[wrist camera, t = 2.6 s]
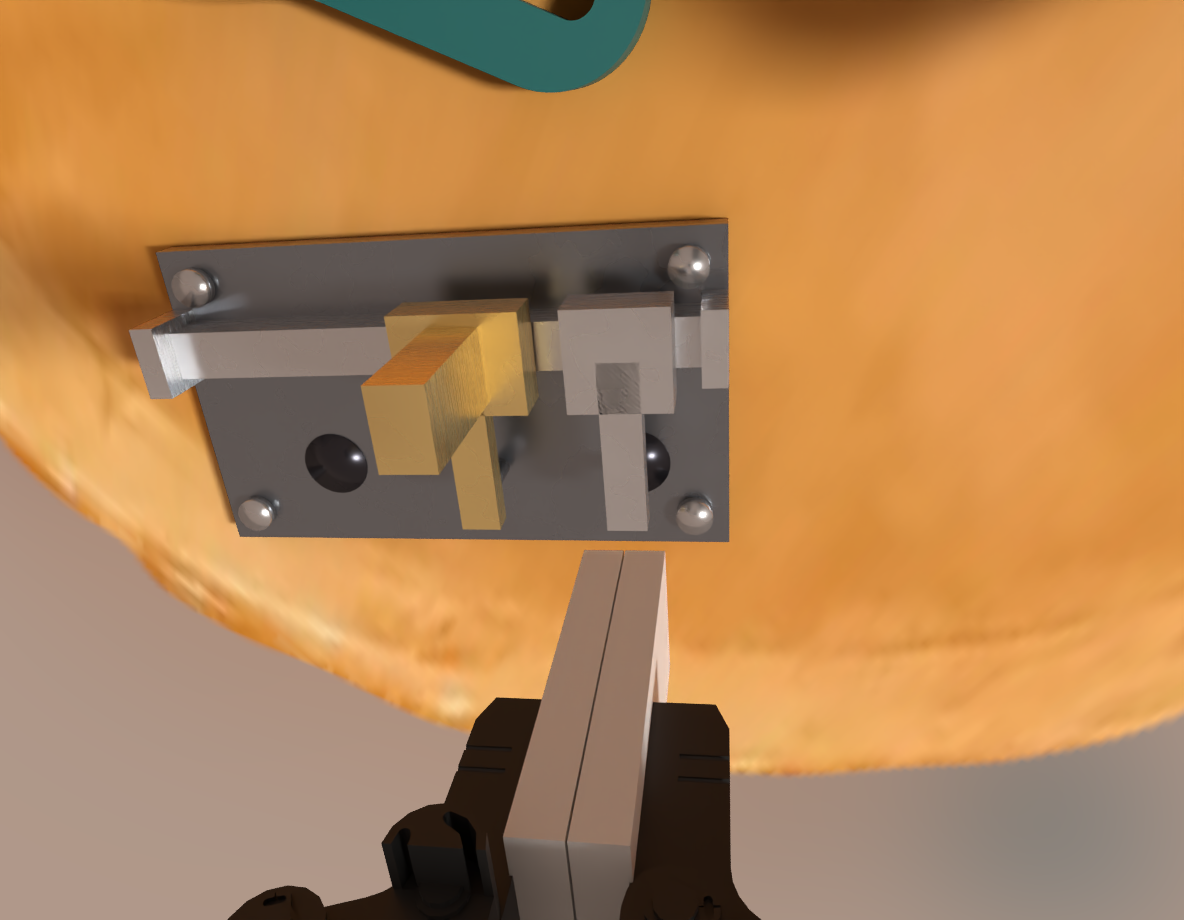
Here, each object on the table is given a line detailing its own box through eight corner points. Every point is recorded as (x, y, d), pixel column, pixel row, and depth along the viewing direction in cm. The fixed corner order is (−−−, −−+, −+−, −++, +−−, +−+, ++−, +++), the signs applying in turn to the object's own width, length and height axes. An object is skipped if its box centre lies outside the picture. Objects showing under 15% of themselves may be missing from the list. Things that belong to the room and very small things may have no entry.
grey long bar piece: (169, 298, 36) (104, 326, 32) (728, 276, 32) (729, 304, 28) (224, 482, 40) (171, 526, 36) (729, 482, 36) (729, 531, 32)
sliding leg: (418, 291, 34) (310, 371, 25) (537, 286, 33) (470, 367, 24) (450, 486, 37) (367, 616, 29) (558, 486, 37) (506, 619, 28)
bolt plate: (172, 246, 36) (146, 255, 34) (727, 218, 32) (728, 226, 30) (252, 524, 42) (233, 542, 40) (728, 528, 38) (729, 548, 36)
